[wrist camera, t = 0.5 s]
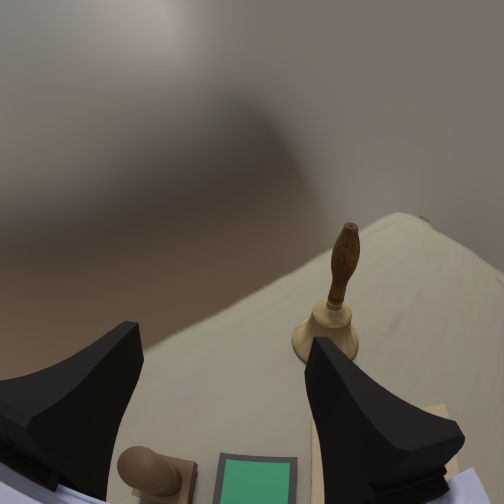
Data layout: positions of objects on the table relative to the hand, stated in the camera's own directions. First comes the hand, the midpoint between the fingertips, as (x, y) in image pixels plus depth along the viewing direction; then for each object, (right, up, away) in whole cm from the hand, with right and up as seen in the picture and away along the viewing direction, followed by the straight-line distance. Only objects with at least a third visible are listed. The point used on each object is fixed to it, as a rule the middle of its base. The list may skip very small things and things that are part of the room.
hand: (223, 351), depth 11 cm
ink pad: (+1, -18, +6) cm, 19 cm away
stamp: (-7, -17, +8) cm, 20 cm away
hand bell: (+10, -7, +22) cm, 25 cm away
